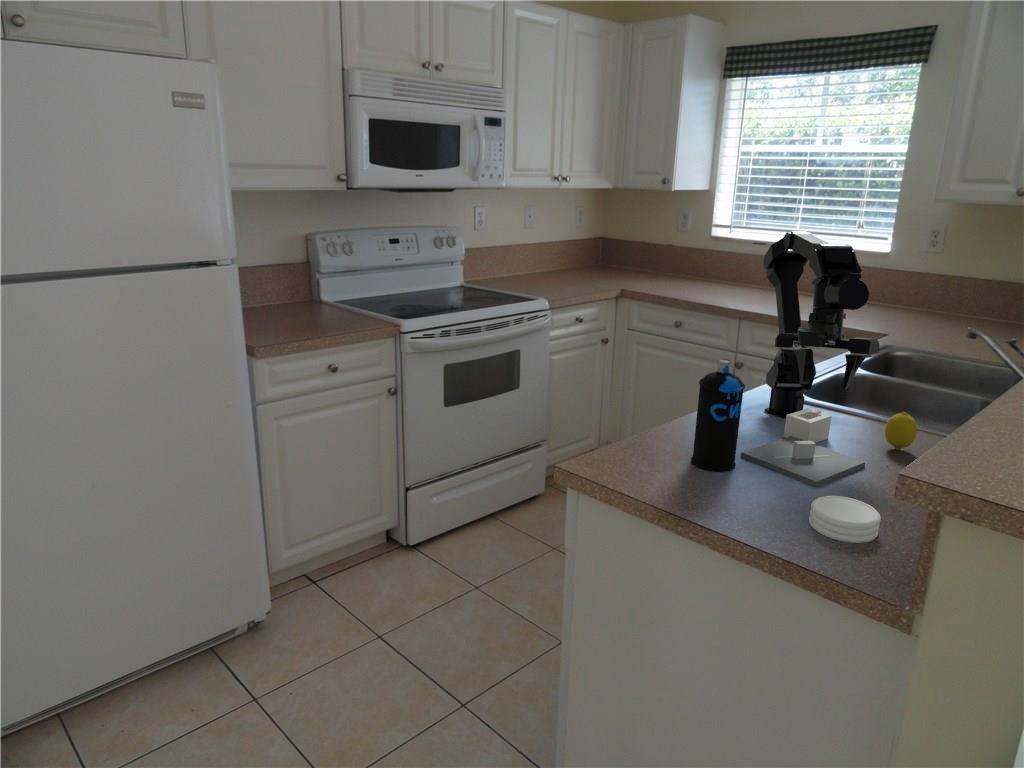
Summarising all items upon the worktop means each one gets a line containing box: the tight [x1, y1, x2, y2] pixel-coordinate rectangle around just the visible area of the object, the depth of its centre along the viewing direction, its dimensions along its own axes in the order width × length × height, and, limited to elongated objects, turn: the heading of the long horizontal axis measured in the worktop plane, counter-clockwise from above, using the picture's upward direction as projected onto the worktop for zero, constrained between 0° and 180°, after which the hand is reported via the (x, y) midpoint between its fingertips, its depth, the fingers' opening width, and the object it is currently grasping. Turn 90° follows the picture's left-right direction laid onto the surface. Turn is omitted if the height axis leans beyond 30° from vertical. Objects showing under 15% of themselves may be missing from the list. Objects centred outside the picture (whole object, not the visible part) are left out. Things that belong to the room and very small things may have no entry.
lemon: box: [884, 411, 918, 451], centre depth 145 cm, size 6×6×8 cm
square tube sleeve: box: [783, 408, 833, 444], centre depth 151 cm, size 6×8×5 cm
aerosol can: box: [690, 359, 746, 473], centre depth 135 cm, size 8×8×20 cm
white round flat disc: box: [808, 495, 882, 544], centre depth 114 cm, size 10×10×4 cm
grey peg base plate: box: [740, 436, 866, 488], centre depth 139 cm, size 16×16×4 cm
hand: (822, 385), depth 147 cm, fingers open, 9 cm apart
